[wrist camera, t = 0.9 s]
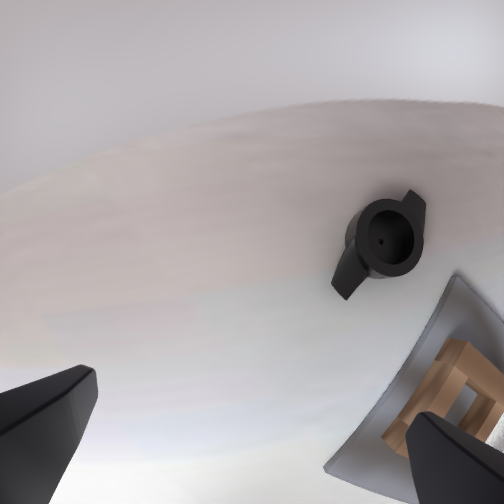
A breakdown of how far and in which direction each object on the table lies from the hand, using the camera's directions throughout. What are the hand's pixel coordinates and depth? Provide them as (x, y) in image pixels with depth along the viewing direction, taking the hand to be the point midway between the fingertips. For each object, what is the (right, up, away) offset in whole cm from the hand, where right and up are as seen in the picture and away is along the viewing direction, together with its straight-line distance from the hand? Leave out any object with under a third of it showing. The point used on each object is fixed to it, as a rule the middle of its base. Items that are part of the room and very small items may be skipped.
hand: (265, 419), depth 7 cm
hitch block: (+17, -10, +14) cm, 24 cm away
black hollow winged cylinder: (+10, +5, +17) cm, 20 cm away
